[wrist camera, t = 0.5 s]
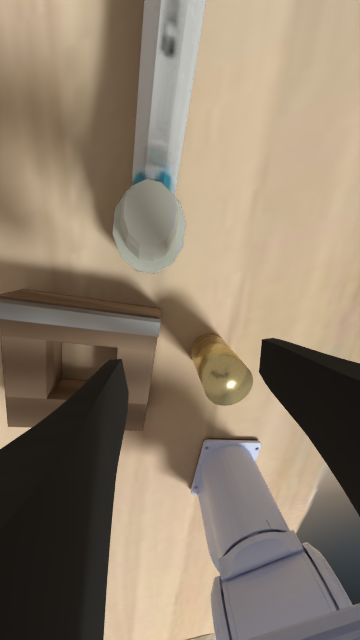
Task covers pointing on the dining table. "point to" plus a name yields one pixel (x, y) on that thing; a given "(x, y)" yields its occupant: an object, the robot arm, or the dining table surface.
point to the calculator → (206, 637)
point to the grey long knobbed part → (159, 135)
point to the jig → (71, 327)
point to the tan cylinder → (220, 370)
